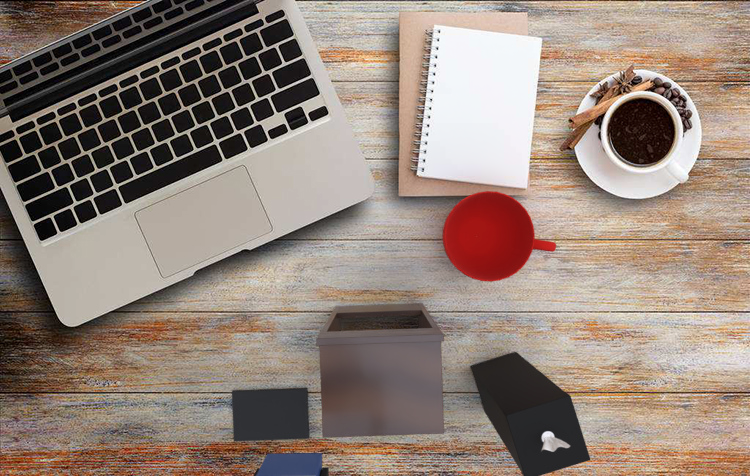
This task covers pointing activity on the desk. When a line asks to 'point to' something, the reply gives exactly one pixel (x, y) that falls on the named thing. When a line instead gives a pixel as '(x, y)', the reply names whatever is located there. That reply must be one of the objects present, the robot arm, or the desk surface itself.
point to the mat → (270, 414)
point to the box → (291, 464)
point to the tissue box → (530, 415)
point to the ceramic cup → (490, 236)
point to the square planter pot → (381, 375)
